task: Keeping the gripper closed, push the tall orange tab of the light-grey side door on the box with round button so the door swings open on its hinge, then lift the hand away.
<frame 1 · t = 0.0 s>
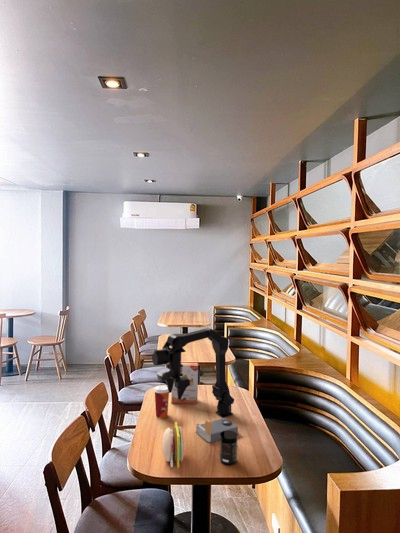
hand: (174, 395, 169), 15 cm above the table, fingers open, 9 cm apart
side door: (203, 427, 160), point 5 cm above the table, hinge at 0.0°
box with round button: (218, 433, 164), on the table
cracker box: (184, 402, 198), on the table
supplement container: (228, 461, 142), on the table
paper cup: (161, 415, 181), on the table
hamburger: (172, 459, 143), on the table
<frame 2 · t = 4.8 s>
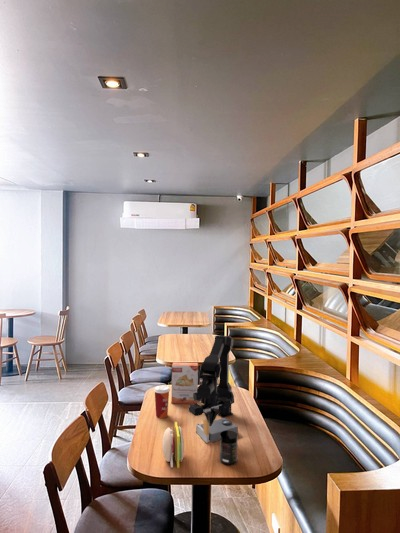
hand: (210, 425, 158), 6 cm above the table, fingers closed
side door: (202, 427, 160), point 5 cm above the table, hinge at 6.5°, touching gripper
everything else where it was.
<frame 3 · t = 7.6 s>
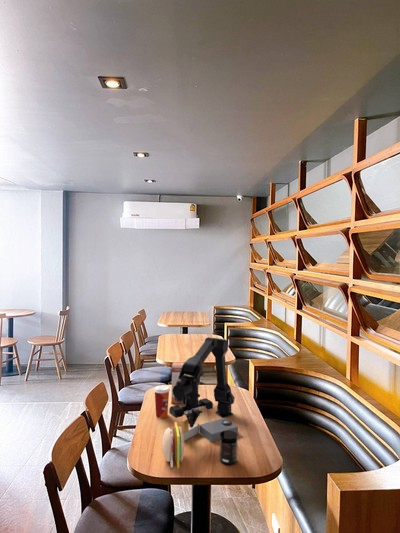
hand: (191, 427, 157), 6 cm above the table, fingers closed
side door: (190, 426, 160), point 5 cm above the table, hinge at 71.1°, touching gripper
everything else where it was.
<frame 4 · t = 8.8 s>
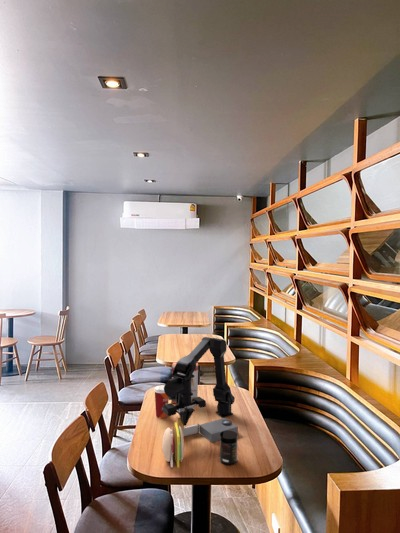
hand: (184, 425, 158), 6 cm above the table, fingers closed
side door: (188, 425, 162), point 5 cm above the table, hinge at 94.2°, touching gripper
everything else where it was.
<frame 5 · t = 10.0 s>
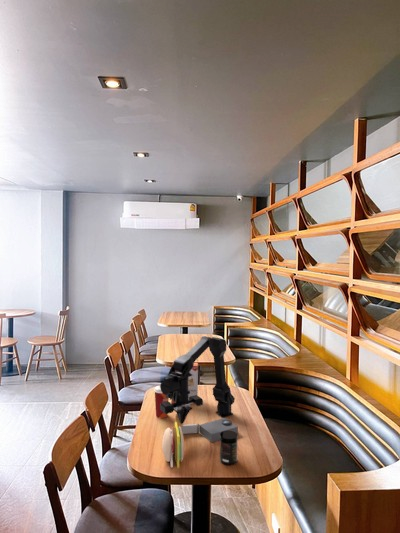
hand: (181, 423, 160), 6 cm above the table, fingers closed
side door: (187, 423, 163), point 5 cm above the table, hinge at 113.2°, touching gripper
everything else where it was.
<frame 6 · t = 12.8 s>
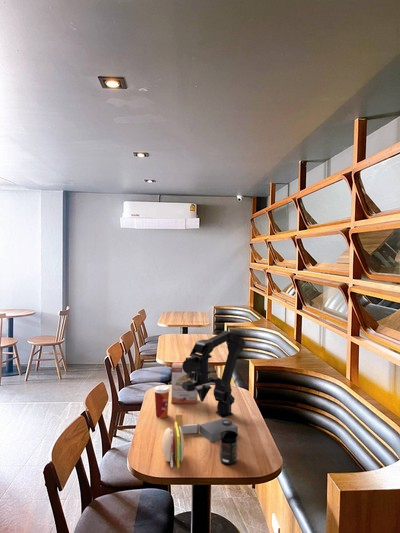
hand: (201, 401, 172), 11 cm above the table, fingers closed
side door: (187, 423, 163), point 5 cm above the table, hinge at 113.3°
everything else where it was.
at the end: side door at +113° (first picture: +0°) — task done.
